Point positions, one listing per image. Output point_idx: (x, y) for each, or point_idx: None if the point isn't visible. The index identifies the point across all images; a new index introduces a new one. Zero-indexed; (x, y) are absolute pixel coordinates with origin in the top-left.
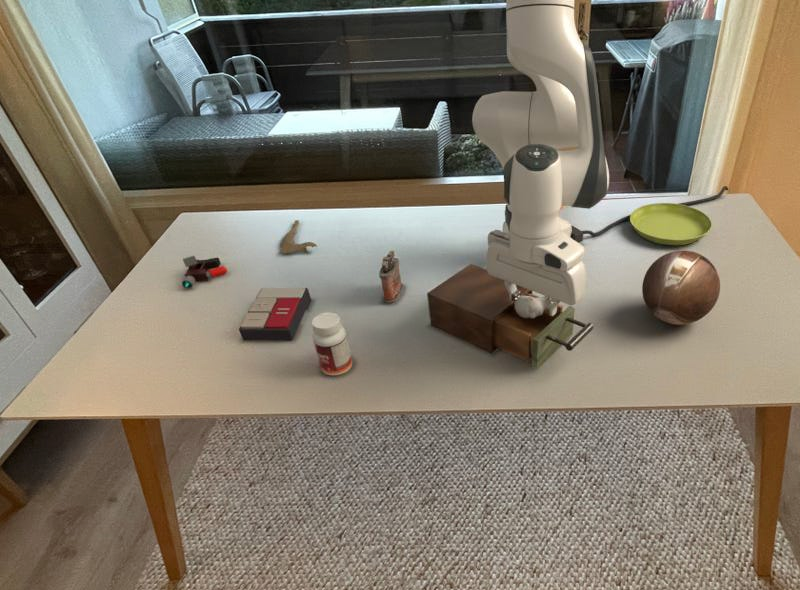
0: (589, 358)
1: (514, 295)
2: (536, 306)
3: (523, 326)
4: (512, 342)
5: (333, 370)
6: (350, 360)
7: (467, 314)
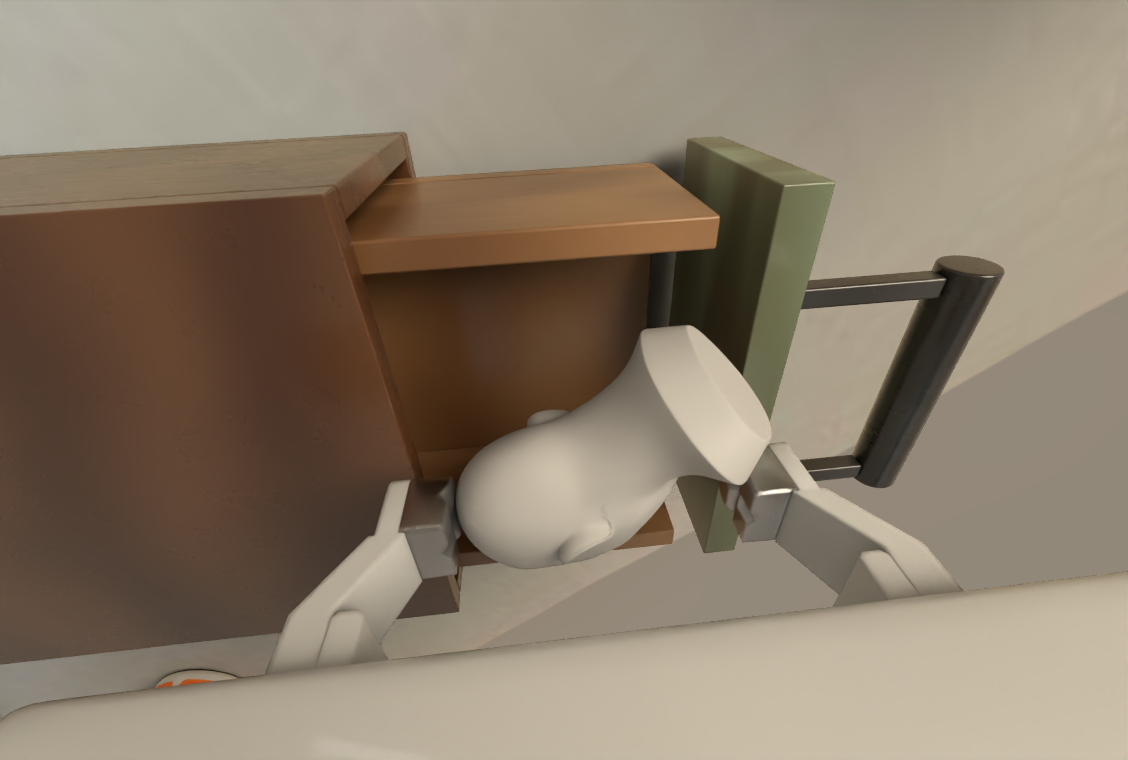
0: (847, 226)
1: (448, 568)
2: (648, 518)
3: (469, 297)
4: None
5: None
6: None
7: None
